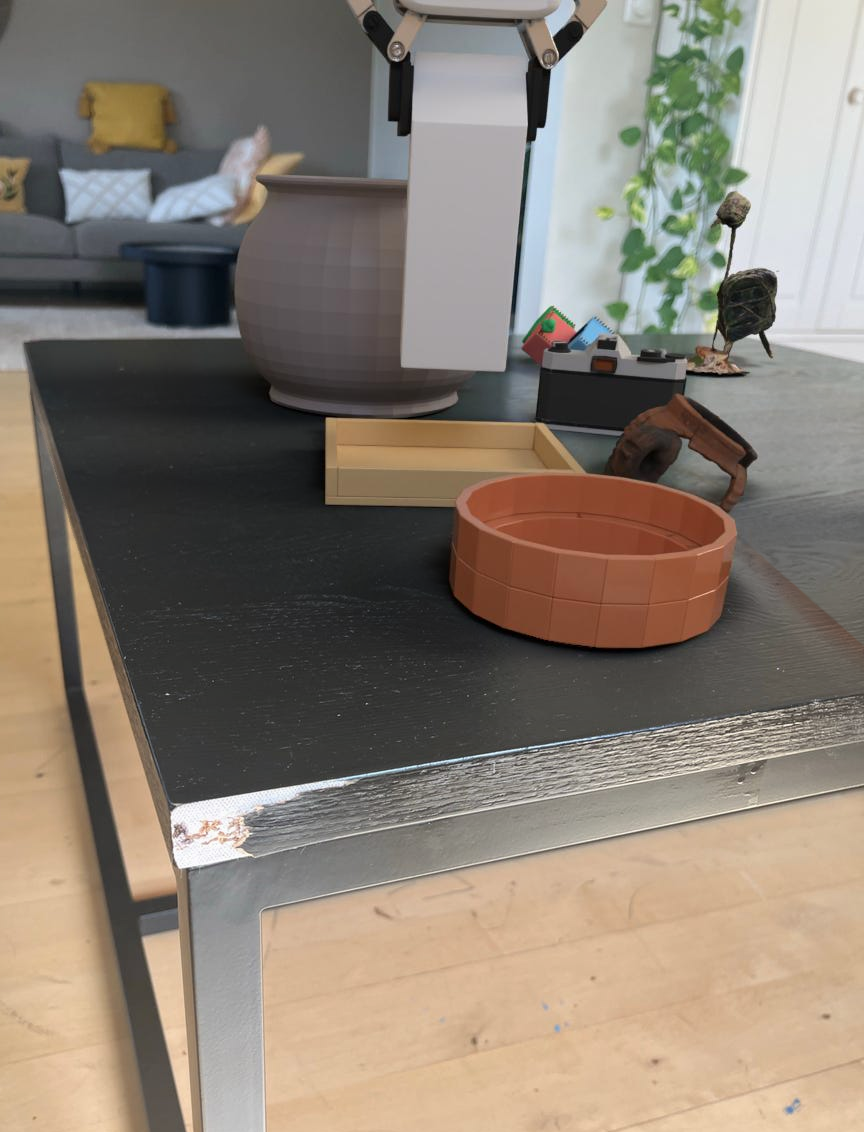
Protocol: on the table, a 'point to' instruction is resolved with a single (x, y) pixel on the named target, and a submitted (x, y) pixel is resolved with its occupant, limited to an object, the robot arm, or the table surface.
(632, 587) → the bowl
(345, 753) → the table surface
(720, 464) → the brown curved piece
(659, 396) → the camera
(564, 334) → the building blocks
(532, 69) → the robot arm
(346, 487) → the tray
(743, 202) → the plant with pod
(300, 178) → the round clay pot
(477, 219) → the milk carton
